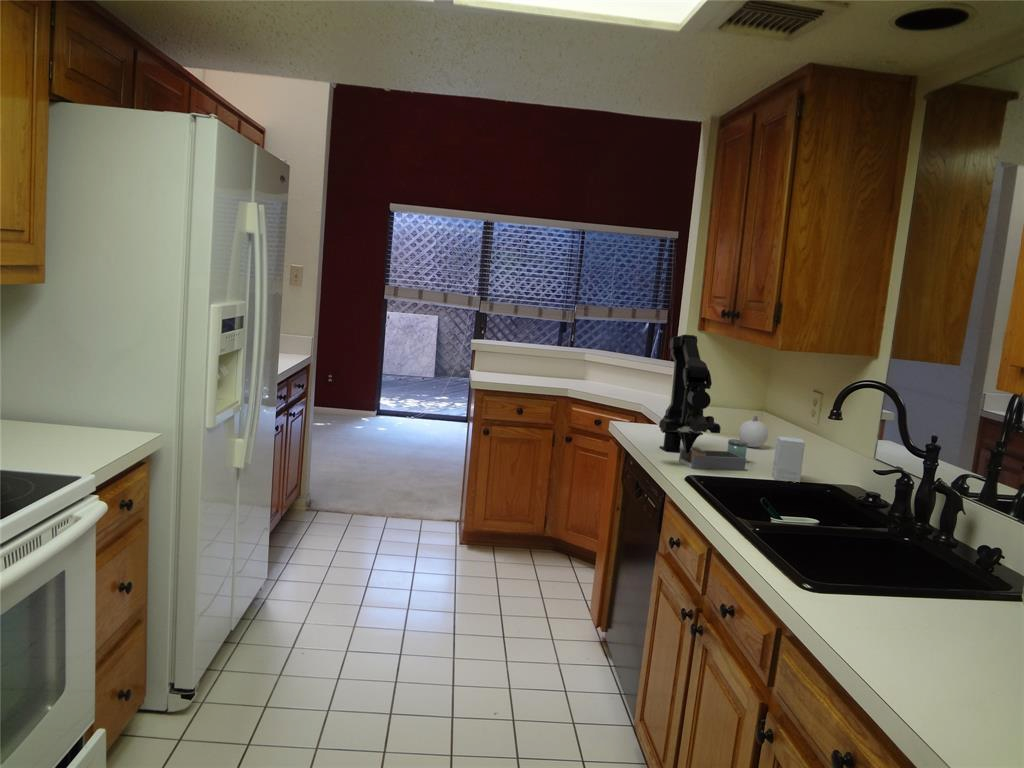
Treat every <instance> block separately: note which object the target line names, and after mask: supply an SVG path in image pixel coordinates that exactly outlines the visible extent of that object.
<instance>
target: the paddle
mask: <svg viewBox="0 0 1024 768" xmlns="http://www.w3.org/2000/svg"><path fill="white" fill-rule="evenodd" d="M690 450H692V452H691V461H690V462H689V463H691V464H692V457H693V456H706V453H707V452H705V451H703V449H701V448H699V447H698V446H692V447H691V449H690Z"/></svg>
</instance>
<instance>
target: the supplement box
mask: <svg viewBox="0 0 1024 768" xmlns="http://www.w3.org/2000/svg"><path fill="white" fill-rule="evenodd" d="M805 445H806V441H804V440H803V439H801V438H798V437H787V436H780V435H779V436H777V437H776V443H775V450H774V460H773V466H772V472H771V473H772V474H771V476H773V478H774V479H775V480H777V481H780V482H781V481H783V482H788V481H798V482H799V483H800V482H801V476H802V468H803V463H804V461H803V460H804V455H805V454H804V453H805V447H806V446H805Z"/></svg>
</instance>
